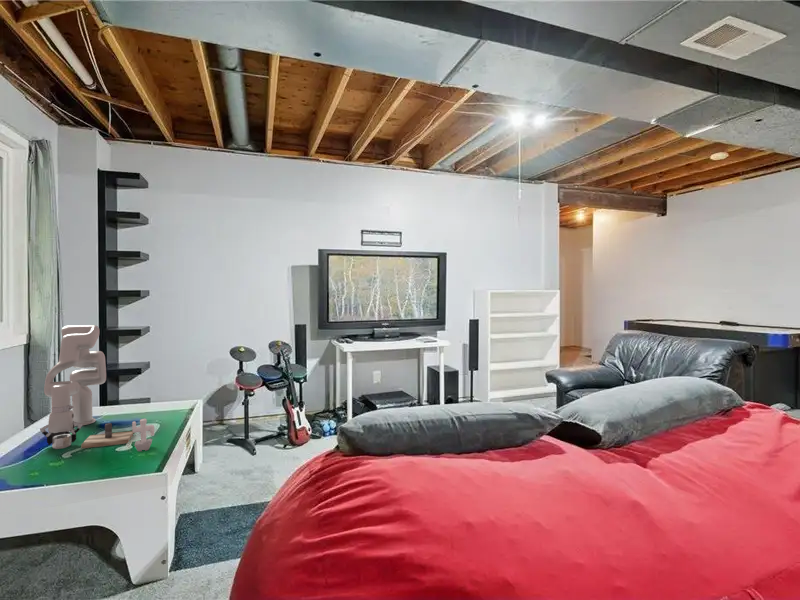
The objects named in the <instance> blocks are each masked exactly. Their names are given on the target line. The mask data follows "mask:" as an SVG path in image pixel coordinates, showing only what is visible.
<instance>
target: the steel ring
mask: <svg viewBox="0 0 800 600" xmlns="http://www.w3.org/2000/svg"><path fill="white" fill-rule="evenodd" d="M71 435H72V433H70V434H61V435H57V436H54V437H53V438H52V443H51V446H52V449H54V450H58V449H59V450H60V449H65V448H68V447H70V446H71V445H72V442H71Z"/></svg>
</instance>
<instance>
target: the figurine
mask: <svg viewBox="0 0 800 600" xmlns="http://www.w3.org/2000/svg"><path fill="white" fill-rule="evenodd" d="M147 423H148V420H147V418H141V419H139V424H140V425H139V426H137V422H136V421H132V422H131V428H132V429H131V431H133V433H134V434H137V433H140V439H139V440H135V442H134V447H135V449H136V451H137V452H143V451H142V450H145V451H149V450H150V447H151V445H152V442H153V438H147V432H150V436H151V437H154V436H155V426H154V425H153V424H148V425H147Z"/></svg>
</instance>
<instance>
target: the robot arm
mask: <svg viewBox="0 0 800 600" xmlns="http://www.w3.org/2000/svg"><path fill="white" fill-rule="evenodd" d="M60 331H61V332H60V333H61V335H62V338H61V342H60V350H59V357H58V362H57V363H56V364H55V365H54V366H52V367H51V369H49V371H47V374H46V377H45V381H44V385H43V386H44V389H43V392H44V395H45V397H48V398H51V400H50V401H51V412H50V413H49V416H48V422H47V424H46V425H44V426H43V427H41V428H39V431H40V432H41V434H42V435H44V436H45V437H46V443H47V445H48V446H50V445H52V435H51V434H52V433H57V432H67V431H69V432H70V434H71V443H74V442H76V440H77V433H78V432H79V431H80V430H81V428H82V427H83V426H86V425H87V426H88V425H91V424H94V423H95V422H96V421H97V420H96V418H94V417H93V392H92V389H91V388H90V387H89V386H98V385H103V384H104V383H106V381H107V367H106V356H105V354H104V352H103V351H101V350H90V349H92V348H94V347H95V345H96V343H97V341H98V339H99V336H100V328H99V327H98V326H97V325H94V324H86V325H85V324H83V325H81V324H80V325H79V324H78V325H76V324H75V325H65V326H63V327H62V328H61V330H60ZM71 367H73V368H76V370H73V371H72V372H71V373H70V374H69V380H66V381H65V380H64V381H54V379H55V377H56V376H57V375H58V374H60V373H61V372H63V371H65V370H67V369H69V368H71ZM77 368H78V369H77ZM75 427H77V428H75ZM46 429H47V430H46Z"/></svg>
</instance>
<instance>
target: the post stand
mask: <svg viewBox="0 0 800 600" xmlns="http://www.w3.org/2000/svg"><path fill="white" fill-rule="evenodd" d="M133 434H134V435H135V433H133V431H132V430H130V431H120V432H119V431H118V432H113V424H112V422H109V423H105V424H104V433H99V434H89V436H88V437H87V438H86V439H85V440H84V441H83V442H82V443H81V444H80V447H81V449H88V448H98V447H107V446H115V445H125V443H126V444H129V443H130V441H131V439H132V438H133V437H134V435H133ZM131 437H132V438H131ZM129 440H130V441H129ZM128 442H129V443H128Z"/></svg>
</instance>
